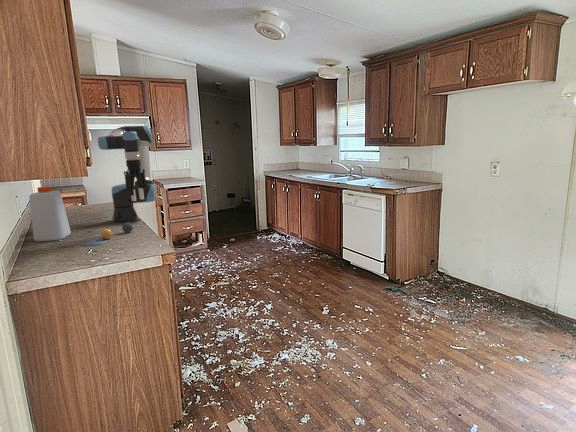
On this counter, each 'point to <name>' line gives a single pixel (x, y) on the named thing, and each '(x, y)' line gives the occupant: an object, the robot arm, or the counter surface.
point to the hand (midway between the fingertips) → (138, 199)
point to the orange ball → (106, 233)
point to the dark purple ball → (127, 227)
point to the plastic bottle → (48, 215)
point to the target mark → (95, 242)
